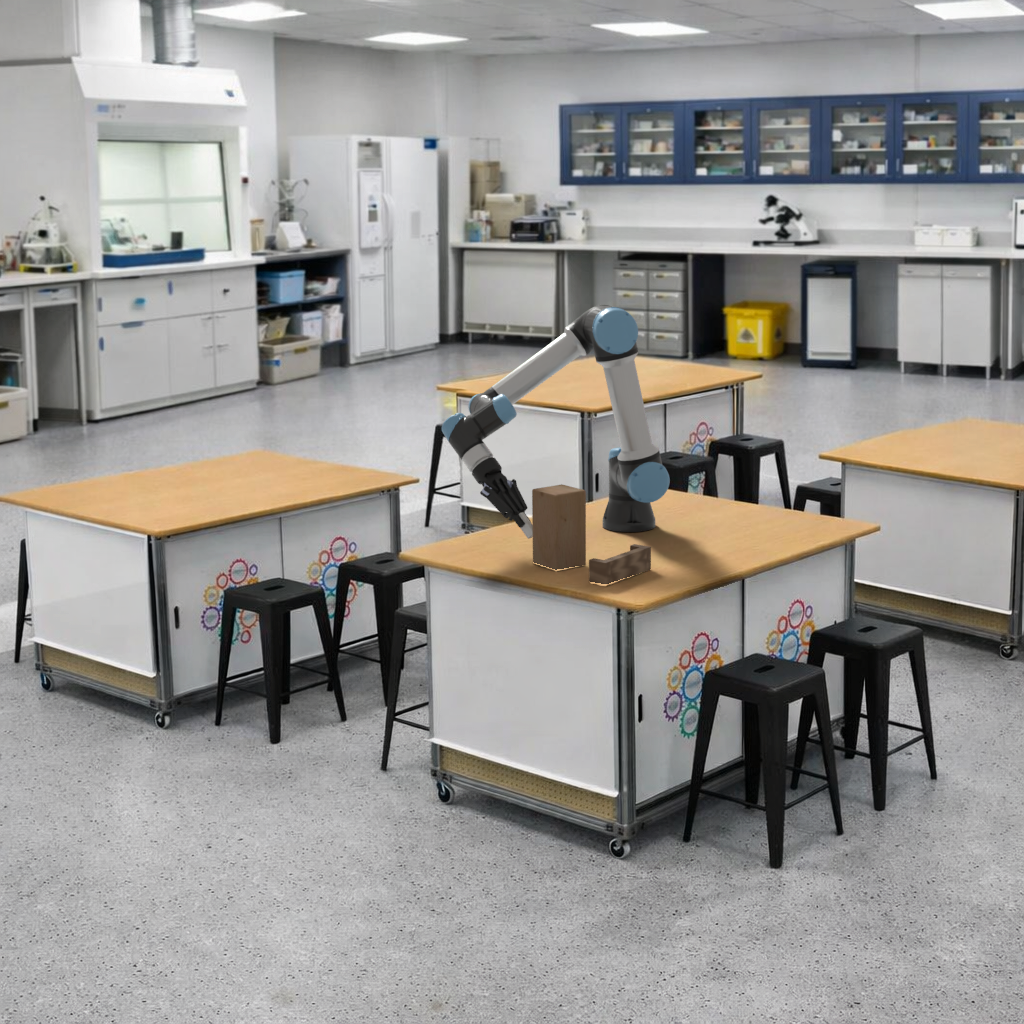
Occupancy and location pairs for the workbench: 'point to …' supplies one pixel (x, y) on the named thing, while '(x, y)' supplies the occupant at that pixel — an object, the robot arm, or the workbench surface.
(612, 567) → the stop rail
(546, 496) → the wooden block
